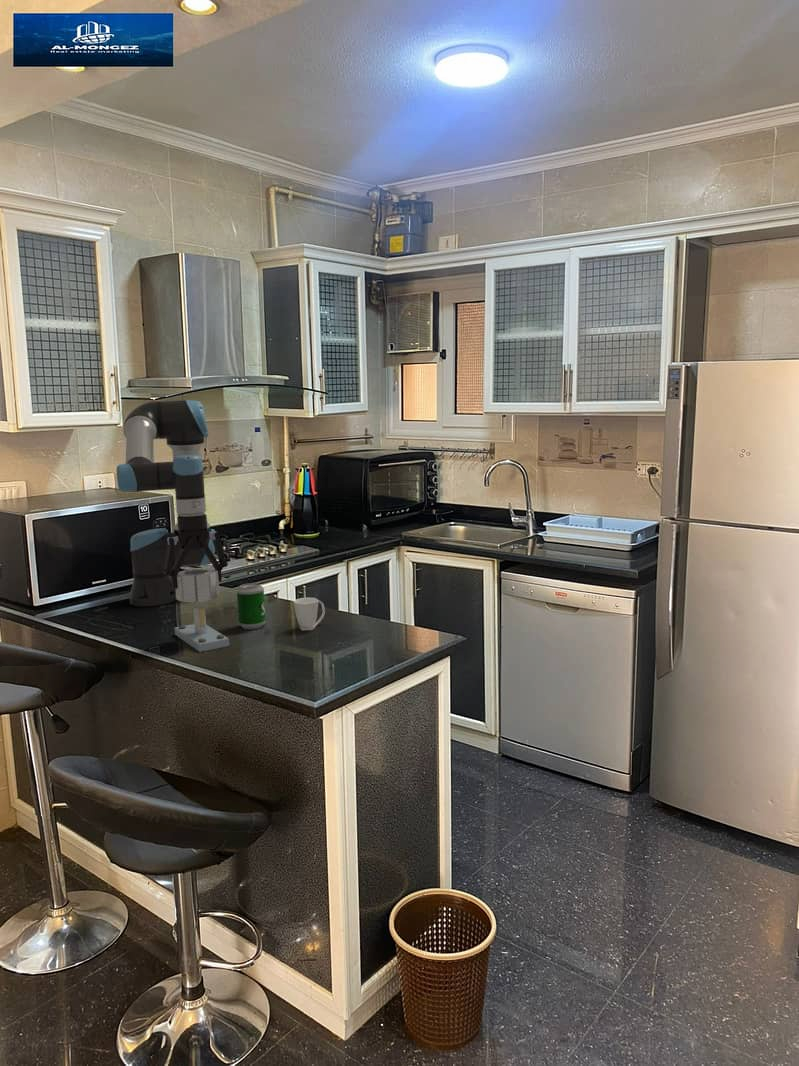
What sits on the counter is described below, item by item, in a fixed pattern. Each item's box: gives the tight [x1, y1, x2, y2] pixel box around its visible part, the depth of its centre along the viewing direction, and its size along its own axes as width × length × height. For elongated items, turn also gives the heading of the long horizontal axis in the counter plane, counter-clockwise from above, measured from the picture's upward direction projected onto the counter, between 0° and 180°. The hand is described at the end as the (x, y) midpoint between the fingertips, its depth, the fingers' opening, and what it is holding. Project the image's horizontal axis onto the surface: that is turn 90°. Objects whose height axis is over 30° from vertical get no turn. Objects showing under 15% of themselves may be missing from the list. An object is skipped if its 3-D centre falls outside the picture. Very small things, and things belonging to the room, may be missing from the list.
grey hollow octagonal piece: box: [178, 567, 218, 603], centre depth 210 cm, size 10×10×7 cm
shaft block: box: [174, 606, 230, 653], centre depth 212 cm, size 20×8×9 cm, turn 34°
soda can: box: [236, 582, 267, 630], centre depth 223 cm, size 8×8×12 cm
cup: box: [292, 597, 326, 631], centre depth 221 cm, size 7×10×8 cm
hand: (198, 596), depth 211 cm, fingers closed on grey hollow octagonal piece, 9 cm apart
